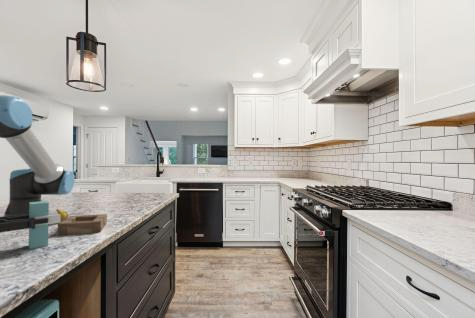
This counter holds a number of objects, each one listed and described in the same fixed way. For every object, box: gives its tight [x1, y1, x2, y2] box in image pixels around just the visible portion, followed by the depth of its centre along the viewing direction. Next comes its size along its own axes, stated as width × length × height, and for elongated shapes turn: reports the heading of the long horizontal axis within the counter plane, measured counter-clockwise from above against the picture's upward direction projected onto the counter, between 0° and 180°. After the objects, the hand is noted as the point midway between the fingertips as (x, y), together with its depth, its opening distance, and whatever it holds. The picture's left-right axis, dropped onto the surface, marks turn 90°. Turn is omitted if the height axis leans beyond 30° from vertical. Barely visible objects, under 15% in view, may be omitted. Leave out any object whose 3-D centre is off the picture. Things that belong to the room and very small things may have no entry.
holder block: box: [57, 213, 108, 236], centre depth 100 cm, size 14×14×4 cm
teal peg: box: [28, 200, 50, 250], centre depth 80 cm, size 4×4×14 cm
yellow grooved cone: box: [55, 208, 69, 222], centre depth 108 cm, size 5×5×10 cm
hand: (58, 216), depth 83 cm, fingers closed on teal peg, 4 cm apart
